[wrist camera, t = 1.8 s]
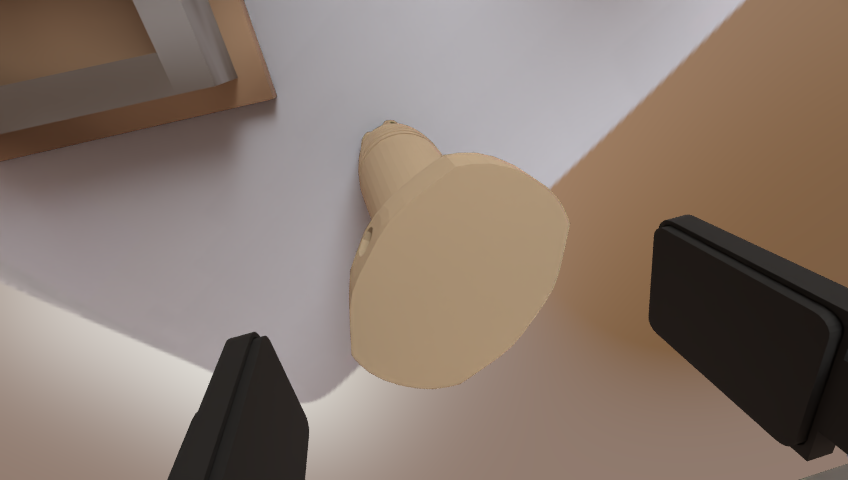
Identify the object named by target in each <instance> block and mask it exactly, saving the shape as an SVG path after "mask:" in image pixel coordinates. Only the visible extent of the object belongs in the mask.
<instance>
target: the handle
mask: <svg viewBox="0 0 848 480" xmlns="http://www.w3.org/2000/svg"><path fill="white" fill-rule="evenodd" d="M361 147H362V148H361V151H360V156H359V169H358V173H359V182H360V188H361V192H362V195H363V198H364V201H365V204H366V206H367V209H368V212H369V215H370V217H371V222H370V223H369V225H368V226H367V228H366V229H365V232H364V235H363V237H362V240H361V242H360V245H359V247H358V250H357V253H356V255H355V258H354V261H353V264H352V267H351V270H350V286H349V310H350V335H351V352H352V356H353V357H354V359H355V360H356V361H357V362H358V363H359V364H360V365H361V366H362V367H364V368H365V369H366V370H367V371H368V372H369V373H371V374H373V375H375V376H377V377H379V378H381V379H383V380H385V381H389V382H392V383H395V384H398V385H402V386H407V387H413V388H423V389H425V388H426V389H436V388H444V387H450V386H454V385H458V384H461V383H462V382H464V381H465V380H467V379H468V378H470V377H471V376H473V375H474V374H476V373H477V372H479V371H480V370H482V369H483V368H485V367H486V366H487V365H489V364H490V363H492V362H493V361H495V360H496V359H497V358H499V357H500V356H501V355H502V354H503V353H505V352H506V351H507V350H508V349H509V348H511V347H512V346H513V345H514V344H515V342H516V341H517V340H518V339H519V338H520V337H521V335H522V334H523V333H524V331H525V330H526V329H527V327H528V326H529V325H530V323H531V322H532V320H533V319H534V318H535V316H536V315H537V313H538V312H539V311H540V309H541V308H542V306H543V305H544V304H545V302H546V300H547V298H548V297H549V295H550V293H551V292H552V290H553V288H554V285H555V282H556V279H557V277H558V274H559V271H560V266H561V262H562V258H563V254H564V249H565V244H566V240H567V235H568V230H569V226H570V222H569V220H568V217H567V214H566V212H565V210H564V208H563V206H562V204H561V203H560V201H559V199H558V198H557V197H556V196H555V195H554V194H553V193H552V192H551V191H550V190H549V189H548V188H547V187H546V186H545V185H543V184H542V183H540V182H539V181H537V180H536V179H534V178H533V177H531V176H530V175H528V174H527V173H525V172H524V171H522V170H521V169H519V168H518V167H516V166H515V165H512V164H510V163H507V162H505V161H503V160H500V159H498V158H496V157H493V156H488V155H484V154H479V153H455V154H448V155H443V156H442V154H441V153H440V151H439V150H438V149H437V148H436V146H435V145H434V144H433V143H432V142H431V141H430V140H429V139H428V138H427V137H426V136H425V135H423V134H422V133H420V132H419V131H417V130H415V129H414V128H411V127H409V126H406V125H403V124H397V122H395V121H394V120H387V121H385V122H384V124H383V125H382V126H380V127H378V128H376V129H375V130H373V131H372V132H367V133H366V134H365V135H364V137H363V139H362V143H361Z"/></svg>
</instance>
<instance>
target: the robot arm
mask: <svg viewBox="0 0 848 480" xmlns="http://www.w3.org/2000/svg"><path fill="white" fill-rule="evenodd" d="M649 322H650V325H651V327H652V328H653V330H654V331H655V332H656V333H657V334H658V335H659V336H660V337H661V338H663V339H664V340H665V341H666V342H667V343H668V344H669V345H670V346H671V347H673V348H674V349H675V350H676V351H677V352H678V353H679V354H680V355H681V356H683V357H684V358H685V359H686V360H687V361H688V362H689V363H690V364H692V365H693V366H694V367H695V368H696V369H697V370H698V371H699V372H701V373H702V374H703V375H704V376H705V377H706V378H707V379H708V380H710V381H711V382H712V383H713V384H714V385H715V386H716V387H717V388H718V389H719V390H721V391H722V392H723V393H724V394H725V395H726V396H727V397H728V398H730V399H731V400H732V401H733V402H734V403H735V404H736V405H737V406H738V407H740V408H741V409H742V410H743V411H744V412H745V413H746V414H748V415H749V416H750V417H751V418H752V419H753V420H754V421H755V422H757V423H758V424H759V425H760V426H761V427H762V428H763V429H764V430H765V431H766V432H768V433H769V434H770V435H771V436H772V437H773V438H774V439H775V440H777V441H778V442H779V443H781V444H783V445H785V446H790V447H791V448H793V449H794V450H795V451H796V452H797V453H798V454H799V455H801V456H802V457H803V458H804V459H805V460H806V461H809V460H813V459H816V458H819V457H822V456H824V455H828V454H831V453H833V450H834V448H835V445H836V446H838V447H839V448H840V449H841V450H843V451H844V452H845V453H846V454H847V458H848V288H847V287H844V286H842V285H840V284H838V283H836V282H833V281H832V280H829V279H827V278H825V277H823V276H821V275H819V274H816V273H814V272H812V271H810V270H808V269H806V268H804V267H802V266H799V265H797V264H795V263H793V262H791V261H789V260H787V259H784V258H782V257H780V256H778V255H776V254H774V253H772V252H769V251H767V250H765V249H763V248H761V247H758V246H757V245H754V244H752V243H750V242H748V241H746V240H743V239H742V238H739V237H737V236H735V235H733V234H731V233H728V232H726V231H724V230H722V229H720V228H718V227H716V226H714V225H712V224H709V223H707V222H705V221H703V220H701V219H699V218H697V217H694V216H692V215H683V216H680V217H676V218H672V219H669V220H665V221H663V222H662V223H661V224H660V226H659V228H658V229H657V230H656V231H655V233H654V243H653V258H652V274H651V288H650V304H649ZM308 439H309V426H308V421H307V418H306V415H305V413H304V411H303V409H302V407H301V405H300V403H299V401H298V398H297V396H296V394H295V392H294V390H293V388H292V386H291V384H290V382H289V380H288V377H287V375H286V373H285V371H284V369H283V367H282V365H281V363H280V361H279V359H278V357H277V354H276V352H275V350H274V348H273V346H272V344H271V342H270V340H269V338H268V337H267V336H262V337H260V336H259V335H258V334H257V333H256V332H252V333H249V334H245V335H241V336H238V337H234V338H230V339H228V340H227V342H226V343H225V346H224V348H223V351H222V353H221V356H220V358H219V361H218V363H217V366H216V368H215V371H214V373H213V376H212V378H211V380H210V383H209V385H208V388H207V390H206V393H205V395H204V398H203V400H202V403H201V405H200V408H199V410H198V412H197V413H196V414H195V416H194V417H193V419H192V421H191V424H190V426H189V429H188V431H187V434H186V436H185V438H184V441H183V443H182V445H181V448H180V450H179V453H178V455H177V458H176V460H175V462H174V465H173V468H172V470H171V472H170V475H169V477H168V480H305V473H306V462H307V450H308ZM800 480H848V464H845V465H843V466H839V467H836V468H833V469H830V470H827V471H825V472H821V473H818V474H815V475H812V476H809V477H806V478H803V479H800Z"/></svg>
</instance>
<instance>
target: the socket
mask: <svg viewBox="0 0 848 480" xmlns="http://www.w3.org/2000/svg"><path fill="white" fill-rule="evenodd" d="M275 97H277V94H276V91H275V89H274V86H273V83H272V80H271V77H270V74H269V71H268V69H267V66H266V63H265V60H264V57H263V54H262V51H261V48H260V46H259V43H258V40H257V37H256V34H255V31H254V28H253V26H252V23H251V20H250V17H249V14H248V11H247V8H246V5H245V3H244V0H0V161H5V160H9V159H13V158H18V157H22V156H27V155H31V154H35V153H40V152H44V151H48V150H53V149H57V148H62V147H66V146H70V145H75V144H79V143H83V142H88V141H92V140H97V139H101V138H105V137H110V136H114V135H118V134H123V133H127V132H132V131H136V130H140V129H145V128H149V127H153V126H158V125H162V124H166V123H171V122H175V121H180V120H184V119H188V118H193V117H197V116H201V115H206V114H210V113H215V112H219V111H223V110H228V109H232V108H236V107H241V106H245V105H250V104H254V103H258V102H263V101H267V100H271V99H274V98H275Z"/></svg>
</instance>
